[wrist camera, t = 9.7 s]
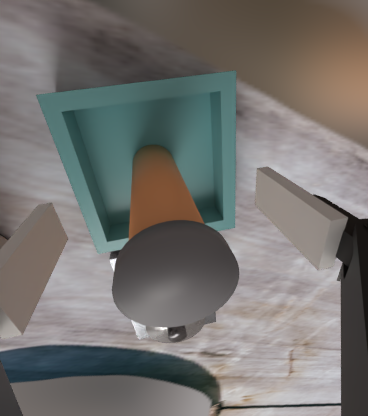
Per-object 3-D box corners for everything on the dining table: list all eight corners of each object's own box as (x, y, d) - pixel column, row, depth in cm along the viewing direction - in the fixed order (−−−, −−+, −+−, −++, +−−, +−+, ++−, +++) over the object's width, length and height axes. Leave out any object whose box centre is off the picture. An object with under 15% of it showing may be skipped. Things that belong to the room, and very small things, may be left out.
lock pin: (133, 192, 23) (129, 338, 10) (121, 143, 20) (94, 252, 7) (181, 184, 23) (237, 312, 10) (175, 135, 21) (240, 223, 8)
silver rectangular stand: (138, 330, 35) (138, 365, 30) (109, 247, 26) (103, 279, 22) (213, 313, 36) (223, 345, 31) (207, 228, 28) (220, 256, 23)
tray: (103, 230, 25) (98, 254, 22) (55, 93, 18) (36, 94, 15) (222, 209, 27) (234, 227, 23) (219, 73, 20) (236, 70, 16)
